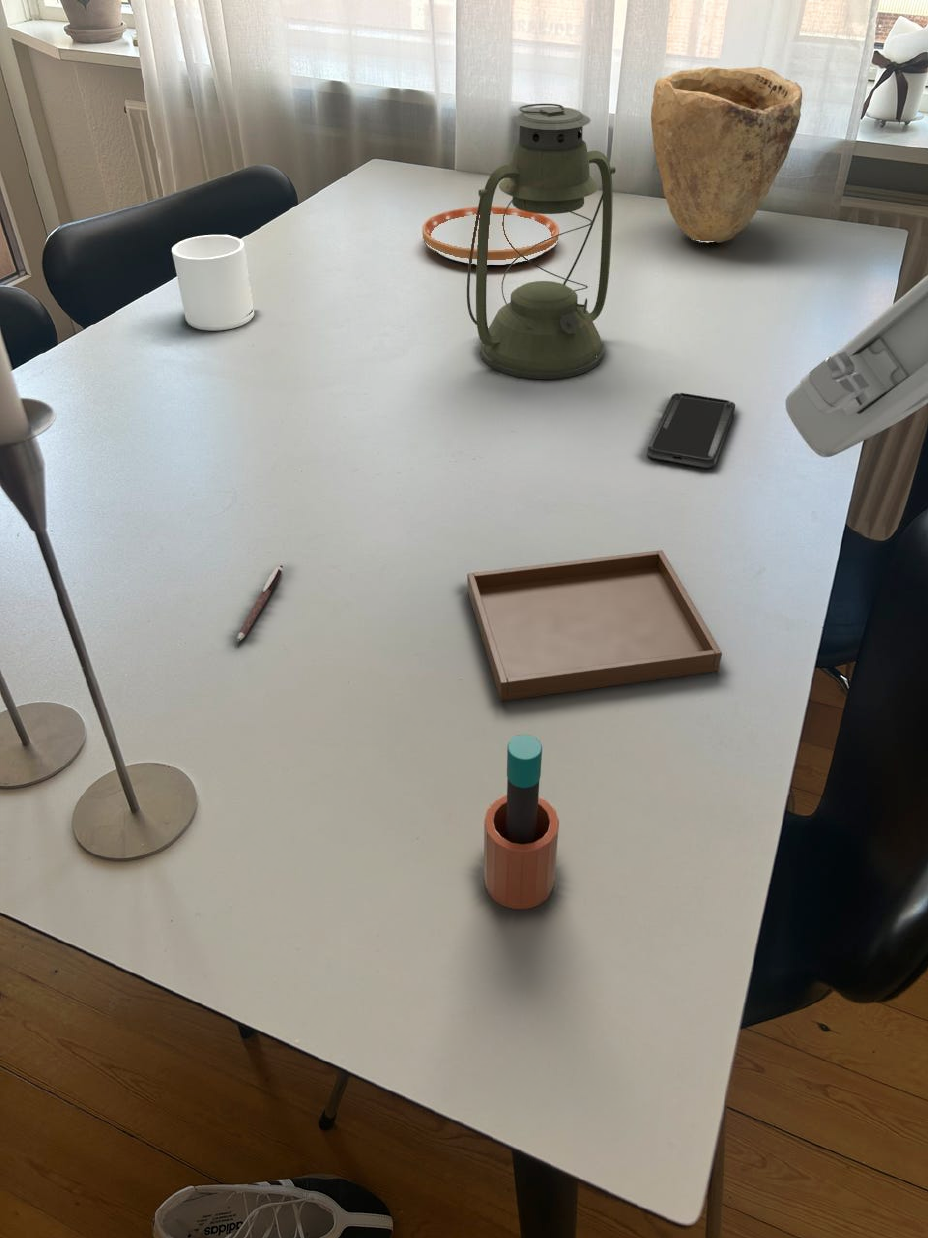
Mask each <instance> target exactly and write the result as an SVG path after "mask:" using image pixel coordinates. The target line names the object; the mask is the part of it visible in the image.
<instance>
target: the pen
mask: <svg viewBox="0 0 928 1238" xmlns="http://www.w3.org/2000/svg"><path fill="white" fill-rule="evenodd" d="M283 568H284V566H283V565H282V564H281V565H279V566H276V567H275V568H274V570H273V571H272V572H271V574H270V576H269V577H268V579H267V580H266V583H265V584H264V586H263V589H262V591H261V593H260V594H259V596H258V597H257V599H256V601H255V603H254V605H253V607H252V608H251V610H250V611H249V613H248V615H247V617H246V619H245V621H244V622H243V624H242V626H241V628H240V629H239V631H238V634H237V638H236V639H237V642H240V641H242V640H243V639H244V638H245V637H246V635H247V634H248V632H249V631H250V629H251V627H252V626H253V624H254V622H255V621H256V619H257V617H258V616H259V614H260V612H261V610H262V609H263V607H264V605H265V604H266V602H267V601H268V599H269V597H270V595H271V593H272V592H273V590H274V588H275V586H276V585H277V583H278V581H279V579H280V578H281V575H282V573H283Z"/></svg>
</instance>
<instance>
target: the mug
mask: <svg viewBox="0 0 928 1238" xmlns="http://www.w3.org/2000/svg"><path fill="white" fill-rule="evenodd" d="M171 253H172V259H173V264H174V268H175V273H176V279H177V283H178V288H179V293H180V299H181V303H182V309H183V313H184V319H185V321H186V323H187V324H188V325H189V326H191V327H192V328H194V329H198V330H202V331H210V332H211V331H215V332H217V331H226V330H232V329H236V328H239V327H242V326H244V325H246V324H248V323H249V322H250V321H251V320H252V319H253V318H254V316H255V309H254V310H253V312H252V313H251V314H250V315H248V316H247V317H245V316H246V315H247V314H249V313H250V312H251V310H252V309H253V306H254V301H253V293H252V287H251V280H250V273H249V269H248V262H247V256H246V248H245V242H244V241H243V240H242V239H240V238H239V237H237V236H232V235H229V234H207V235H198V236H193V237H188V238H185V239H183V240H181V241H178V242H177V243H175V244H174V245H173V246H172V248H171ZM243 317H245V318H243ZM241 318H243V319H241ZM238 319H241V320H238ZM236 320H238V321H236ZM233 321H235V322H233ZM229 322H231V323H229Z"/></svg>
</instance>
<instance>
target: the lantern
mask: <svg viewBox="0 0 928 1238" xmlns="http://www.w3.org/2000/svg"><path fill="white" fill-rule="evenodd" d="M540 106H541V107H540ZM530 107H533V108H530ZM525 108H529V109H525ZM518 109H519V110H518V111H520V112H521V113H520V114H518V115H516V116H514V117H513V118H512V122H513V123H514V124H515V125H517V126H519V137H518V139H517V140H515V143H514V146H513V150H512V154H511V158H510V163H509V164H507V165H502V166H500V167H498V168H496V169H495V170H494V171H493V172H492V173H491V174H490V176H489V178H488V179H487V180H486V184H485V187H484V188H481V189H478V192H477V193H478V197H479V201H478V205H477V207H478V211H477V216H476V221H475V227H474V232H473V238H472V244H471V251H470V258H469V264H468V267H467V277H466V305H467V310H468V315H469V317H470V319H471V321H472V322H473V323H474V324H475V325H476V328H477V333H478V337H479V339H480V341H481V342H480V348H479V349H480V350H479V353H480V356H481V359H482V360H483V362H485V363H486V365H488V366H489V367H491V368H493V369H494V370H496V371H498V372H500V373H503V374H506V375H509V376H514V377H517V378H524V379H530V380H531V379H533V380H556V379H557V380H558V379H565V378H569V377H575V376H578V375H581V374H584V373H587V372H589V371H591V370H593V369H594V368H596V367H597V366H598V365H599V364H600V363H601V362H602V360H603V358H604V355H605V354H604V353H605V347H604V343H603V341H602V339H601V338H602V337H601V336H600V333H599V331H598V329H597V327H596V326H595V323H594V321H595V320H597V319H598V317H600V315H601V313H602V311H603V309H604V306H605V304H606V300H607V299H606V298H607V293H608V286H609V280H610V279H609V277H610V267H611V252H612V232H613V204H614V203H613V198H614V197H613V196H614V195H613V177H612V175H613V174H615V173H616V166H614V165H612V166H611V164H610V162H609V159H608V157H607V156H606V155H605V154H604V153H603V152H602V151H599V150H589V151H588V148H587V147H588V146H587V143H586V141H585V140H583V129H584V128H583V127H585V126H586V125H589V124H590V123H591V118H590V117H589V116H587V115H585V114H583V113H582V112H581V111H580V110H577V109H574V108H570V107H565V106H563V105H561V104H557V103H532V104H526V105H522V106H520V107H519V108H518ZM524 109H525V110H524ZM590 164H595V165H597V167H598V169H599V172H600V178H601V187H602V188H601V189H602V193H601V196H600V199H599V201H598V204H597V207H596V209H595V213H594V215H593V217H592V219H591V218H589V217H586V216H584V215H582V214H580V213H576V212H575V211H577V210H580V209H581V208H583V207H584V204H585V198H587V197H589V196H592V195H593V194H595V193H596V192H597V191H598V190H599V188H600V186H599V183H598V182H597V181H596V180H595V179H594V178H593V177H592V176H591V174H590ZM497 187H498V188H499V190H500V191H501V192H503V194H505V195H508V196H511V197H512V199H511V200H510V202H509V203H508V205H507V206H506V207H507V208H506V210H505V212H504V215H503V222H502V226H503V231H504V235H505V237H506V239H507V241H508V242H509V240H508V238H507V236H506V234H505V230H504V216H505V213H506V211H507V209H508V207H510V205H511V204H512V207H514V208H518V209H520V210H523V211H526V212H531V213H539V214H542V215H558V214H566V213H567V214H568V213H571V214H573V215H576V216H579V217H581V218H583V219H586V220H587V221H589V222H590V223H588V224H585V225H582V226H579V227H577V228H574V229H571V230H568V231H563V232H561V233H559V235H556V236H554V237H557V236H559V237H560V236H562V235H564V234H568V233H571V232H574V231H577V230H581V229H583V228H586V227H589V228H588V230H587V233H586V234H585V235H586V236H585V238H584V241H583V242H582V245H581V247H580V250H579V252H578V254H577V257H576V259H575V261H574V263H573V264H572V267H571V269H570V271H569V272H568V274H567V276H566V278H565V277H562V276H560V275H558V274H555V273H553V272H550V271H548V270H546V269H544V268H542V267H540V266H539V265H538V264H535V263H534V262H532V261H531V260H530V261H529V260H528V259H526V258H525V257H524V256H522V255H523V254H524V253H526V252H527V251H529V250H530V249H532V248H534V247H535V246H537V245H539V244H541V243H543V242H545V241H547V240H550V239H552V238H554V237H551V238H549V239H547V240H544V241H542V242H540V243H538V244H536V245H535V246H533V247H531V248H530V249H528V250H526V251H525V252H524V253H522V254H520V253H519V252H518V251H517V250H516V249H515V248H514V247H513V246H512V244H511V243H510V242H509V244H510V245H511V247H512V248H513V249H514V250H515V251H516V252H517V253H518V254H519V255H520V256H521V257H523V258H524V259H525V260H527V262H528V263H530V264H531V265H533V266H534V267H536V268H537V269H540V270H541V271H543V272H546V273H548V274H550V275H552V276H554V277H557V278H560V279H562V280H564V281H563V283H561V282H557V281H551V280H550V281H549V280H537V281H536V280H535V281H530V282H526V283H524V284H522V285H520V286H518V287H516V288H515V289H514V290H513V291H511V293H510V302H507V301H506V298H505V295H504V281H505V278H506V275H507V274H508V271H509V270H510V268H512V265H514V264H513V263H514V262H515V261H516V260H517V259H518V258H519V257H520V256H519V257H517V258H516V259H515V260H514V261H513V262H512V263H511V265H508V267H507V268H506V271H505V272H504V274H503V277H502V281H501V294H502V298H503V301H504V303H505V305H503V306H502V307H501V308H499V309H498V310H497V312H496V315H494V317H493V320H491V321H492V322H491V323H490V325H489V326H488V318H487V317H488V316H487V315H488V314H487V282H488V280H487V279H488V278H487V277H488V266H487V257H488V239H489V225H490V215H491V207H492V206H493V200H494V197H495V192H496V190H497ZM601 205H602V220H601V221H602V224H601V225H602V226H601V248H600V249H601V250H600V267H599V268H600V269H599V278H598V279H599V281H598V289H597V296H596V301H595V304H594V307H593V310H592V311H591V312H589V311H588V309H587V308H588V298H587V297H586V298H585V300H584V304H583V303H582V304H581V303H579V302H578V301H579V297H578V294H577V292H578V291H582V290H583V291H584V290H586V289H588V288H589V287H588V285H587V284H583V283H580V282H576V281H573V280H571V279H570V277H571V275H572V274H573V272H574V270H575V267H576V266H577V263H578V261H579V260H580V257H581V255H582V252H583V250H584V248H585V246H586V242H587V241H588V239H589V236H590V234H591V231H592V230H593V229H592V228H593V226H594V224H595V221H596V219H597V216H598V213H599V211H600V207H601ZM479 215H480V218H479ZM478 220H479V229H478V245H477V265H476V268H475V269H476V270H475V271H476V273H475V274H476V275H475V276H476V277H475V317H476V318H475V317H474V313H473V311H472V306H471V300H470V299H471V298H470V286H471V285H470V284H471V272H472V265H471V263H472V256H473V249H474V243H475V237H476V231H477V226H478ZM568 282H569V283H570V282H571V283H574V284H577V285H580V286H582V287H583V286H584V287H583V288H578V289H572V288H571V287H569V286H567V285H566V284H567V283H568ZM488 327H489V328H488ZM483 344H484V345H483ZM596 356H597V357H596Z"/></svg>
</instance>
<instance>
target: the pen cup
mask: <svg viewBox="0 0 928 1238" xmlns="http://www.w3.org/2000/svg"><path fill="white" fill-rule="evenodd" d="M506 815H507V794H505V795H502V796H501V797H499V798H497V799H495V800H494V801H493V802H492V803H491V804H490V806H489V807H488V808H487V809H486V813H485V816H484V821H483V822H484V823H483V825H484V829H483V837H484V839H483V840H484V841H483V845H484V846H483V864H484V865H483V868H484V869H483V877H484V884H485V889H486V891H487V892H488V894H489V895H490V897H491V898H492V899H493V900H494V901H495V902H496V903H498V904H499V905H500V906H503V907H505V908H507V909H512V910H528V909H532V908H536V907H538V906H539V905H541V904H543V903H544V902H545V901H546V900H547V899H548V898H549V897H550V896H551V893H552V891H553V889H554V884H555V883H554V882H555V876H556V875H555V874H556V865H557V852H558V842H559V841H558V838H559V829H560V828H559V827H560V820H559V817H558V813H557V811H556V809H555V808H554V807H553V806H552V805H551V804H550V802H549V801H547V799H544V798H543V797H541V796H539V797H538V813H537V830H536V842H534V843H529V844H517V843H511V842H510V841H508V840H506Z"/></svg>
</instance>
